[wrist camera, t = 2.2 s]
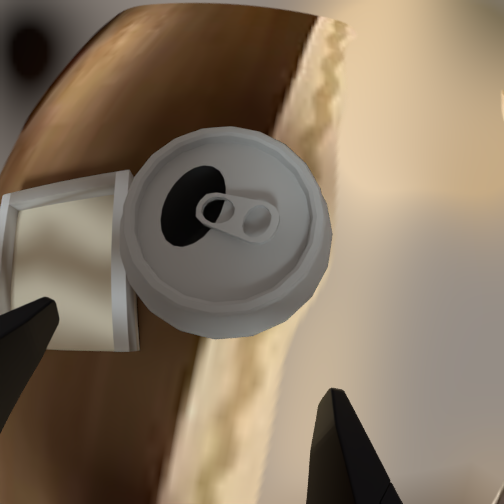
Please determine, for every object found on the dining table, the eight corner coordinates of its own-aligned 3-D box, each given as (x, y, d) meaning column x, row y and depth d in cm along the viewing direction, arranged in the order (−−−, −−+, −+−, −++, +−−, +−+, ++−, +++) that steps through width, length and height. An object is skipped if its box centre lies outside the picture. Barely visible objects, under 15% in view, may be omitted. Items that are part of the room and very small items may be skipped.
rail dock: (139, 350, 19) (129, 351, 17) (7, 346, 18) (-9, 345, 16) (137, 183, 22) (129, 169, 20) (15, 204, 21) (2, 195, 19)
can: (200, 210, 22) (170, 87, 10) (302, 249, 21) (369, 153, 10) (156, 310, 20) (62, 274, 8) (263, 354, 19) (299, 380, 8)
